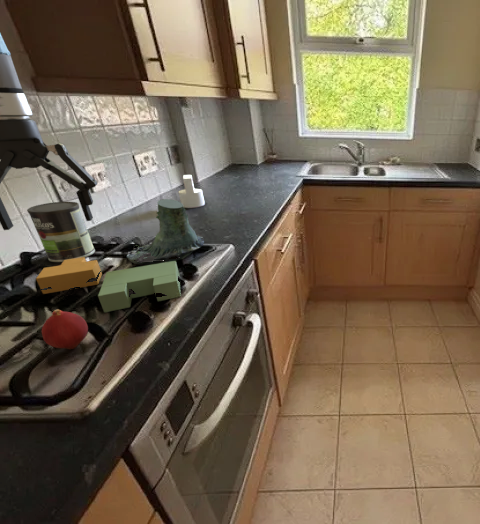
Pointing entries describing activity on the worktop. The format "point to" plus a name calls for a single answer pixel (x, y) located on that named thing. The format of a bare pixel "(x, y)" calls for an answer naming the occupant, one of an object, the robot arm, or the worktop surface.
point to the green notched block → (139, 284)
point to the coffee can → (62, 230)
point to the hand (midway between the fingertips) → (51, 223)
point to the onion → (64, 330)
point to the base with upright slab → (191, 194)
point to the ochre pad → (69, 275)
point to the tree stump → (170, 235)
